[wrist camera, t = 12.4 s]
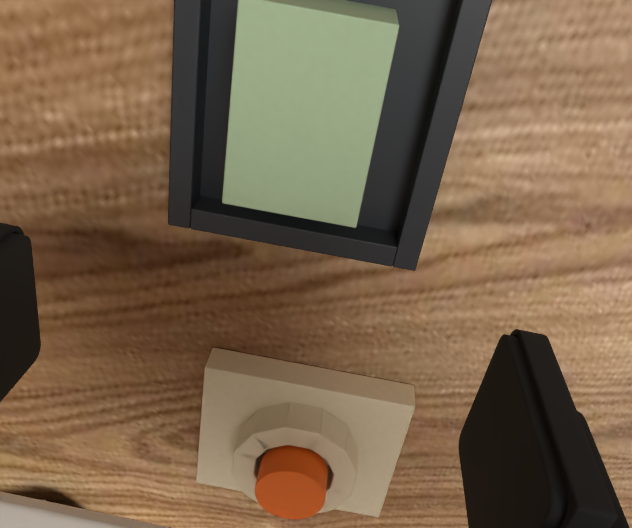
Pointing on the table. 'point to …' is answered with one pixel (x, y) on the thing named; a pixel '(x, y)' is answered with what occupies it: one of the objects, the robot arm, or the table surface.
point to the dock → (389, 148)
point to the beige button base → (302, 425)
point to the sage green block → (306, 105)
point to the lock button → (292, 482)
